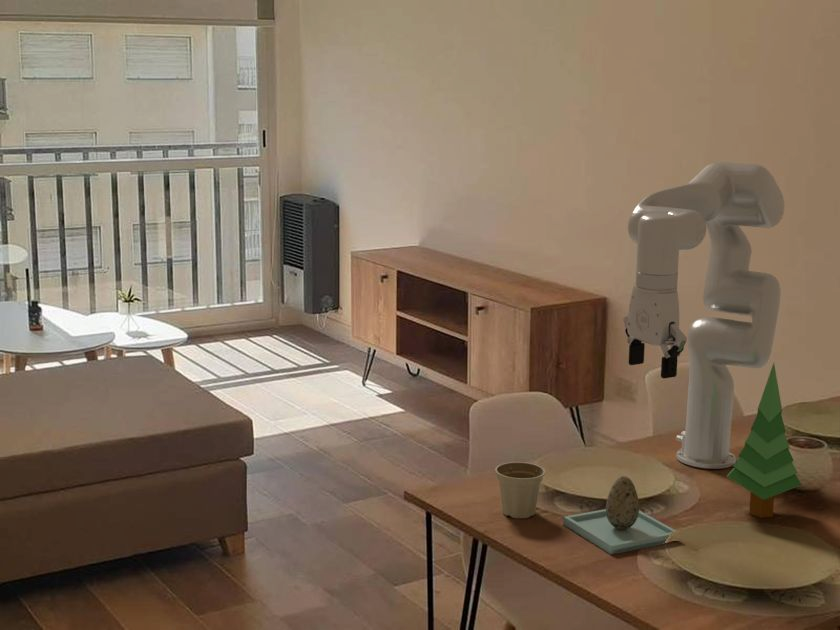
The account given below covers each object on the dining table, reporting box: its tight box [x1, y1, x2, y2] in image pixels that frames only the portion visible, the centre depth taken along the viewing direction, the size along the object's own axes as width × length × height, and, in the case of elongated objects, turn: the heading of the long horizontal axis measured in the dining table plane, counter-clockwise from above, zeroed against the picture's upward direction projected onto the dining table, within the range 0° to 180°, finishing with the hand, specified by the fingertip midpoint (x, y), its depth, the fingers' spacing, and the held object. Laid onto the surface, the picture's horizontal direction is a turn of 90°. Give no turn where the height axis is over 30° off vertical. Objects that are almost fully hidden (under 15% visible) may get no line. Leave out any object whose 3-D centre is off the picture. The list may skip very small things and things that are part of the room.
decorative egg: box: [605, 475, 640, 530], centre depth 215 cm, size 6×6×10 cm
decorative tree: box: [726, 362, 803, 518], centre depth 224 cm, size 14×16×30 cm
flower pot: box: [494, 461, 546, 519], centre depth 224 cm, size 9×9×9 cm
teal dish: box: [562, 508, 677, 556], centre depth 216 cm, size 15×15×2 cm
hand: (652, 370), depth 221 cm, fingers open, 9 cm apart
